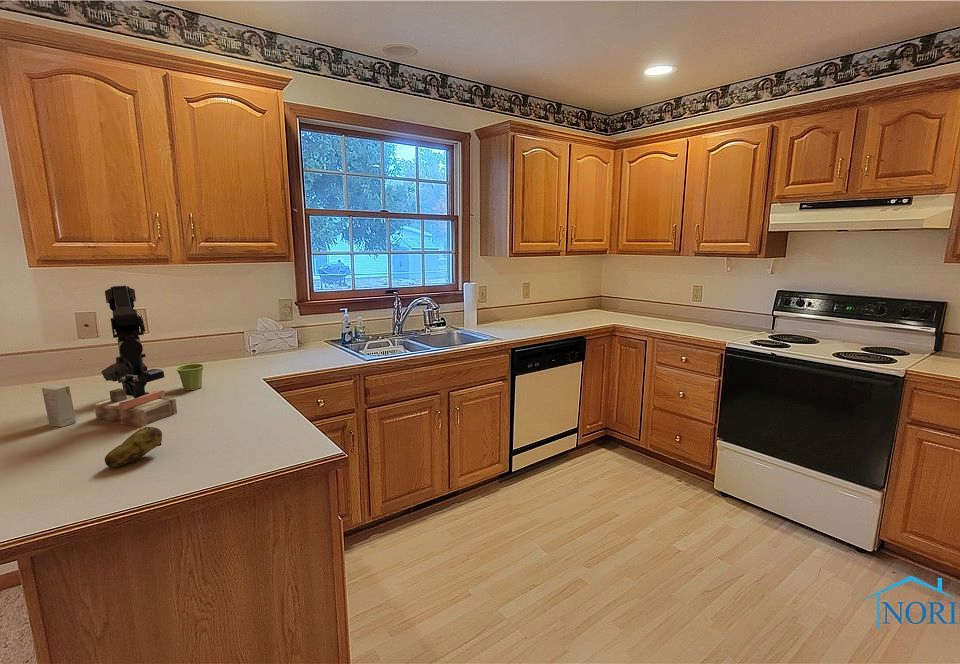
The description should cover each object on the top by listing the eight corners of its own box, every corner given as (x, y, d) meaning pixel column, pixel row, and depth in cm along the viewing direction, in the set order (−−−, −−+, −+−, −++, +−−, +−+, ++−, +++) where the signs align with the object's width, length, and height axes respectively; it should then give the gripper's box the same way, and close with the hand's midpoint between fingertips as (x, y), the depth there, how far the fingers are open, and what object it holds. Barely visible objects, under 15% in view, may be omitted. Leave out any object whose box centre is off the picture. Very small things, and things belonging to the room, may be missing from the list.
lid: (96, 406, 153) (94, 393, 152) (124, 397, 161) (122, 385, 161) (143, 412, 148) (141, 398, 147) (169, 403, 156) (168, 389, 155)
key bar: (120, 409, 147) (119, 403, 146) (161, 395, 160) (160, 389, 160) (124, 409, 146) (123, 403, 146) (164, 395, 160) (164, 390, 159)
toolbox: (92, 420, 152) (89, 399, 151) (129, 407, 164) (127, 387, 162) (142, 426, 147) (139, 405, 145) (177, 413, 158) (174, 393, 157)
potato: (104, 462, 124) (99, 433, 122) (162, 448, 132) (158, 420, 130) (107, 473, 117) (102, 443, 116) (168, 458, 126) (164, 429, 124)
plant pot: (181, 393, 178) (178, 371, 177) (176, 387, 185) (173, 366, 184) (209, 388, 184) (206, 367, 183) (203, 383, 191) (201, 362, 190)
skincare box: (77, 422, 150) (70, 385, 148) (61, 427, 146) (54, 389, 144) (63, 420, 152) (57, 383, 150) (47, 425, 148) (40, 387, 146)
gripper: (81, 356, 145) (89, 404, 148) (128, 360, 140) (135, 410, 143) (117, 348, 156) (124, 394, 159) (162, 352, 151) (168, 398, 154)
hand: (137, 399), depth 153 cm, fingers closed
